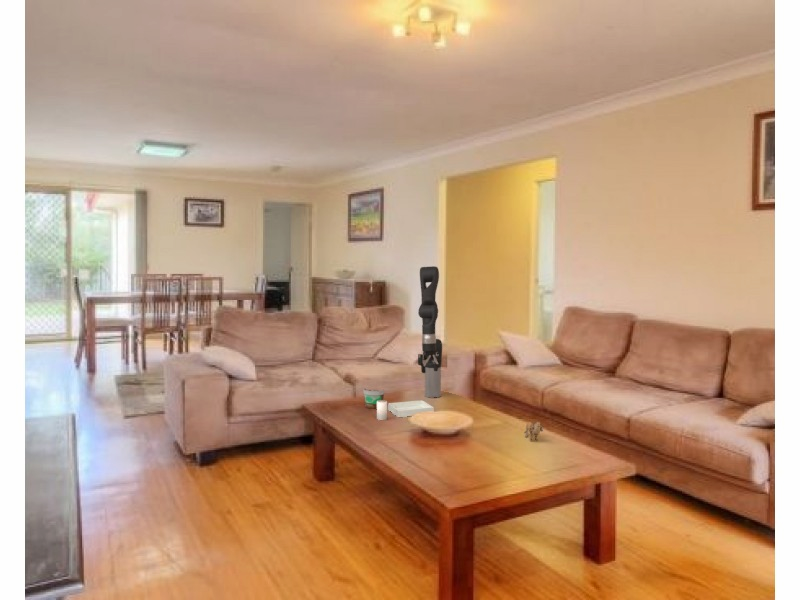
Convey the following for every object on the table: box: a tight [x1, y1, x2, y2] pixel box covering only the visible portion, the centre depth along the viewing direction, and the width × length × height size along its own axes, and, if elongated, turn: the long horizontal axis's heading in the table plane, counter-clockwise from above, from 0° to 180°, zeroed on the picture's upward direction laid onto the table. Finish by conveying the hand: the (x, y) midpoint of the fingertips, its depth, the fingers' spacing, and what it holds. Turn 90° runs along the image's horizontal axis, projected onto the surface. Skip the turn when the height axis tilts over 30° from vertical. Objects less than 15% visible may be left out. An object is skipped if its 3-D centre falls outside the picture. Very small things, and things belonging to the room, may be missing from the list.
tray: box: [387, 399, 435, 418], centre depth 289 cm, size 16×20×4 cm
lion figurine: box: [523, 421, 545, 443], centre depth 247 cm, size 15×5×9 cm, turn 13°
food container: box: [362, 387, 386, 410], centre depth 295 cm, size 12×6×10 cm, turn 68°
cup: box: [376, 399, 388, 421], centre depth 276 cm, size 5×5×9 cm
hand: (429, 372), depth 300 cm, fingers open, 8 cm apart
